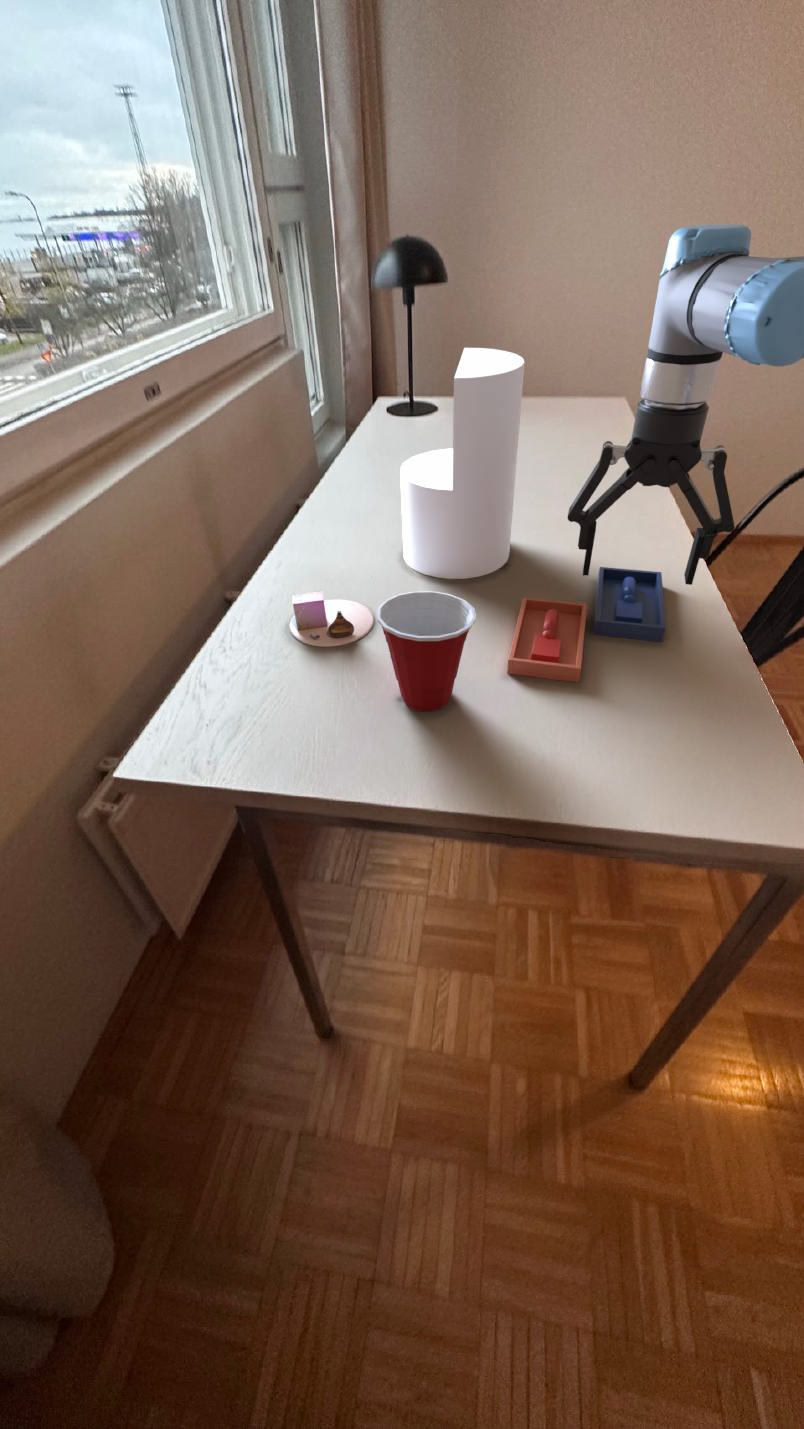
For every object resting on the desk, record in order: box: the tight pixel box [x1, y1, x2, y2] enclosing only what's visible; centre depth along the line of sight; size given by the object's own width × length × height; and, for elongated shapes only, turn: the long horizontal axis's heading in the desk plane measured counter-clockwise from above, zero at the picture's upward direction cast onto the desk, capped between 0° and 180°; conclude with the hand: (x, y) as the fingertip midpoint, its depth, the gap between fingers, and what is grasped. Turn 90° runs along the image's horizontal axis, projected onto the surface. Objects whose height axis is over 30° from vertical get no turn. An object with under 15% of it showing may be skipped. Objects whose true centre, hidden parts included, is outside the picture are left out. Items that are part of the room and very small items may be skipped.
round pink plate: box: [288, 590, 375, 648], centre depth 88 cm, size 12×12×4 cm
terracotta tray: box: [506, 597, 588, 683], centre depth 82 cm, size 9×15×2 cm, turn 165°
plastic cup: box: [376, 590, 477, 713], centre depth 72 cm, size 11×11×12 cm
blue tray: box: [593, 566, 666, 643], centre depth 88 cm, size 9×15×2 cm, turn 165°
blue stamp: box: [615, 577, 643, 624], centre depth 88 cm, size 11×3×2 cm, turn 165°
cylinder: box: [399, 347, 526, 580], centre depth 94 cm, size 17×17×28 cm
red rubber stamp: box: [531, 609, 562, 663], centre depth 82 cm, size 11×3×2 cm, turn 165°
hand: (636, 575), depth 84 cm, fingers open, 12 cm apart
